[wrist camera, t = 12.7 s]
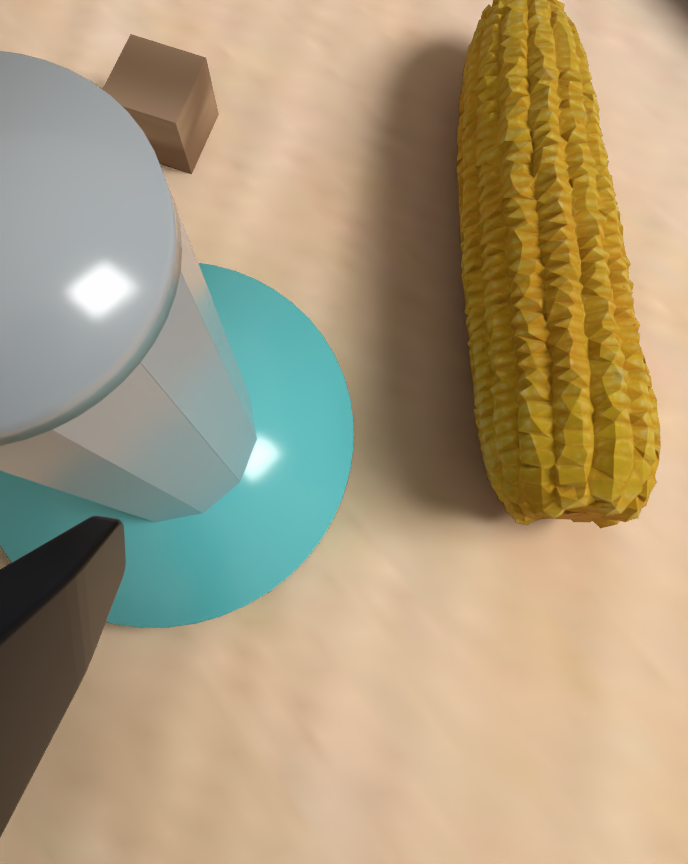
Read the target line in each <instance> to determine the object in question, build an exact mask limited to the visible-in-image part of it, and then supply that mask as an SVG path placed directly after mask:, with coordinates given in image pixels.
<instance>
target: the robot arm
mask: <svg viewBox="0 0 688 864" xmlns="http://www.w3.org/2000/svg"><path fill="white" fill-rule="evenodd" d="M125 566H126V553H125V534H124V525H123V523H122V521H121V520H119V519H116V518H110V517H104V516H92V517H90V518H88V519H86V520H84V521H82V522H81V523H79V524H77V525H76V526H74V527H72V528H70V529H69V530H67V531H65V532H64V533H62V534H60V535H58V536H57V537H55V538H53V539H52V540H50V541H48V542H46V543H45V544H43V545H41V546H39V547H38V548H36V549H34V550H33V551H31V552H29V553H27V554H26V555H24V556H22V557H21V558H19V559H17V560H15V561H14V562H12V563H10V564H9V565H7V566H5V567H3V568H2V569H0V837H1V835H2V833H3V831H4V829H5V827H6V825H7V824H8V822H9V820H10V818H11V816H12V814H13V812H14V810H15V808H16V806H17V804H18V802H19V801H20V799H21V797H22V795H23V793H24V791H25V789H26V787H27V785H28V783H29V781H30V779H31V778H32V776H33V774H34V772H35V770H36V768H37V766H38V764H39V762H40V760H41V758H42V756H43V755H44V753H45V751H46V749H47V747H48V745H49V743H50V741H51V739H52V737H53V735H54V733H55V731H56V730H57V728H58V726H59V724H60V722H61V720H62V718H63V716H64V714H65V712H66V710H67V708H68V707H69V705H70V703H71V701H72V699H73V697H74V695H75V693H76V691H77V689H78V687H79V685H80V683H81V681H82V679H83V677H84V675H85V673H86V671H87V668H88V666H89V664H90V661H91V659H92V656H93V654H94V651H95V649H96V646H97V643H98V641H99V638H100V636H101V633H102V630H103V628H104V625H105V623H106V620H107V617H108V615H109V612H110V610H111V607H112V605H113V602H114V599H115V597H116V594H117V592H118V589H119V586H120V584H121V581H122V579H123V576H124V572H125Z"/></svg>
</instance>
